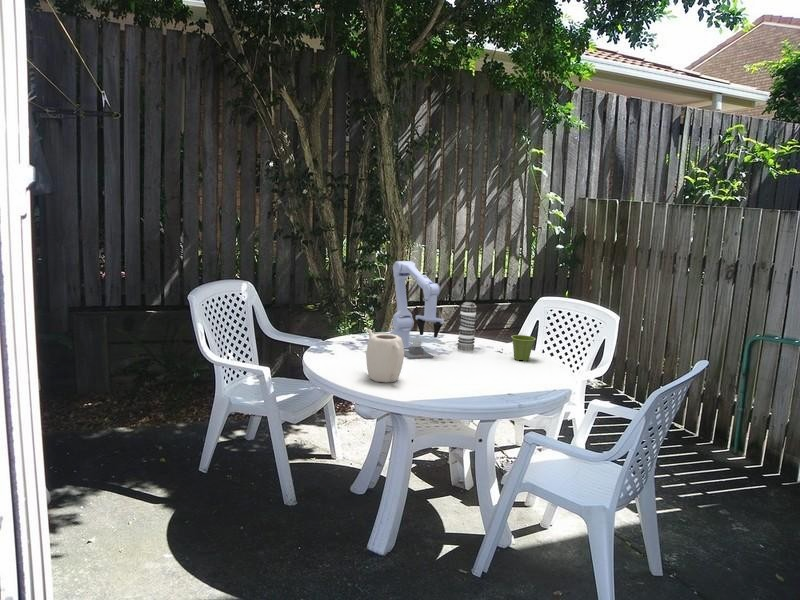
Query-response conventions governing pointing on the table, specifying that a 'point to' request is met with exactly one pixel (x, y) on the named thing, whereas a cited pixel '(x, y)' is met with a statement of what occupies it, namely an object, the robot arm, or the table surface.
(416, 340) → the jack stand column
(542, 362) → the table surface
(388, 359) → the cream ceramic pot
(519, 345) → the plant pot
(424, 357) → the grey socket base
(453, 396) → the table surface
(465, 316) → the decorative candle
